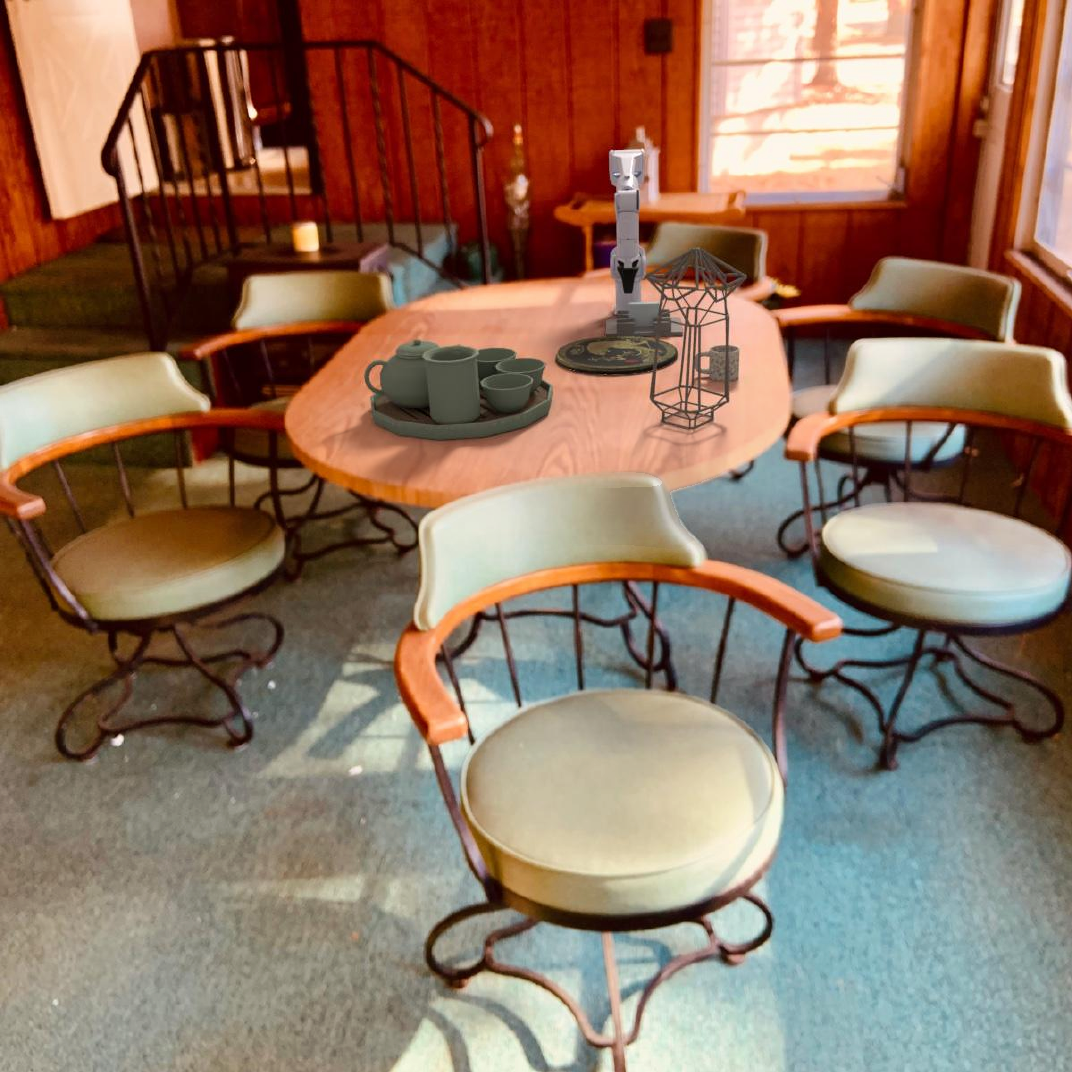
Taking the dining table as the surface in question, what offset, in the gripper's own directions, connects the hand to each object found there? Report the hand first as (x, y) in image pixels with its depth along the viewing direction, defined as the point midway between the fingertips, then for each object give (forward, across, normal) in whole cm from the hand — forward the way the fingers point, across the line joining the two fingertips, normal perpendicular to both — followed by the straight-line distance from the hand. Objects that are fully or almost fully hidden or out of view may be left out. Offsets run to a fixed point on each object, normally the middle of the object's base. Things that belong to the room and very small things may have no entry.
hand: (628, 289), depth 286 cm
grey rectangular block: (+8, +5, +4) cm, 11 cm away
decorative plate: (+10, +30, -3) cm, 32 cm away
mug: (+10, +48, +20) cm, 53 cm away
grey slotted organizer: (+9, +5, +4) cm, 11 cm away
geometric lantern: (+10, +77, +13) cm, 79 cm away
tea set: (+10, +66, -36) cm, 76 cm away
